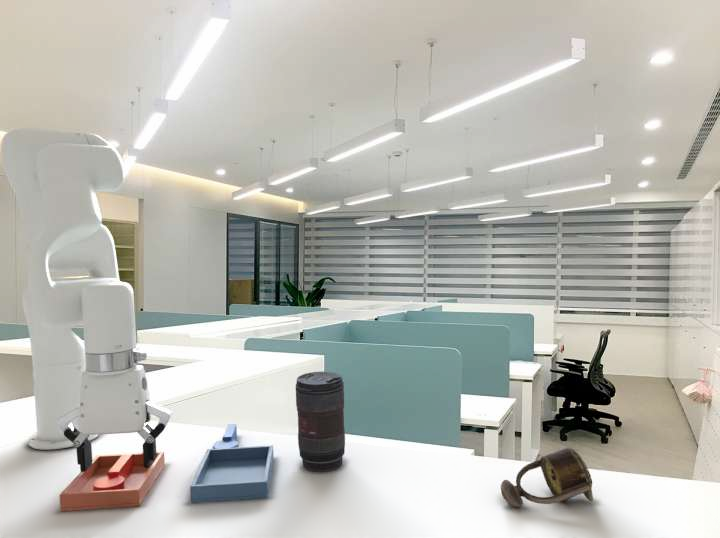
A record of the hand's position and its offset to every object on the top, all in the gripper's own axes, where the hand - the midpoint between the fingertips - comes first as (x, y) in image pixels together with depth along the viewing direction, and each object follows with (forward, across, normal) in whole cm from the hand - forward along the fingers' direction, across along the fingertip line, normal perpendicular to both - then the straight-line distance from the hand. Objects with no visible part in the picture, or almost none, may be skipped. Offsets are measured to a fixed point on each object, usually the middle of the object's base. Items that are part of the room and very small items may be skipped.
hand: (117, 466), depth 93 cm
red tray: (+3, 0, +1) cm, 3 cm away
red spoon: (+2, 0, +1) cm, 3 cm away
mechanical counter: (+3, -64, +14) cm, 66 cm away
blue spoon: (+3, -16, -14) cm, 21 cm away
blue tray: (+3, -18, +1) cm, 19 cm away
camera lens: (+3, -32, -3) cm, 33 cm away
